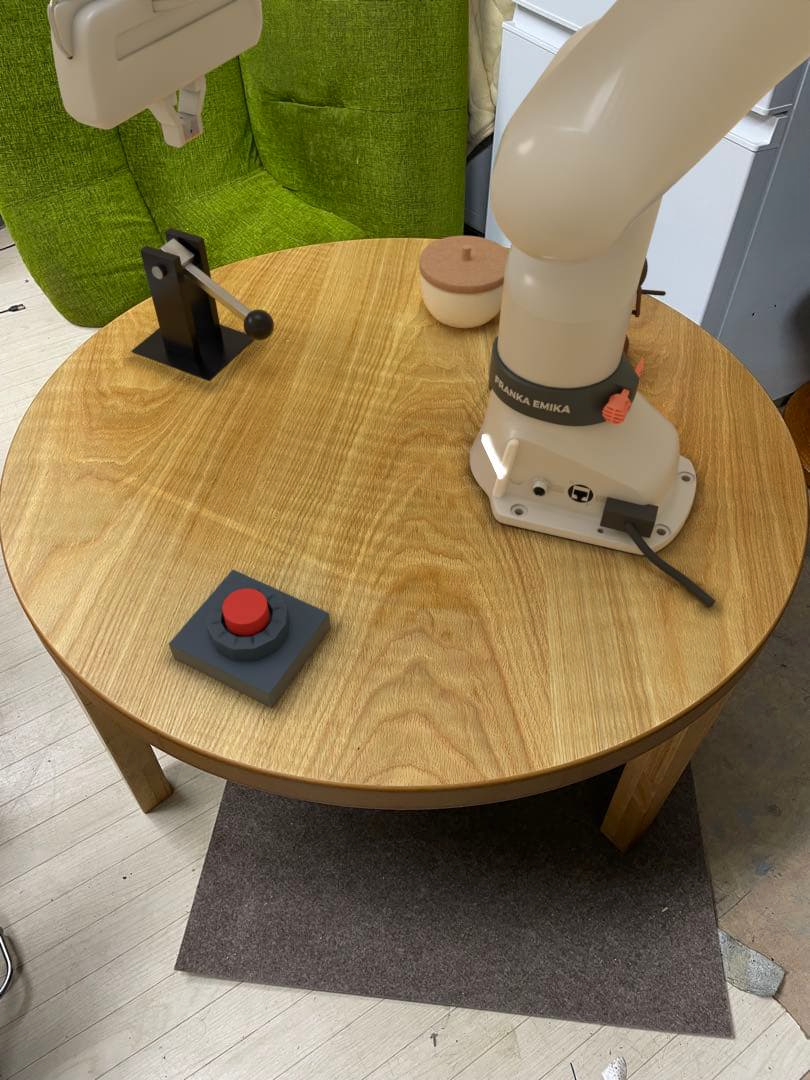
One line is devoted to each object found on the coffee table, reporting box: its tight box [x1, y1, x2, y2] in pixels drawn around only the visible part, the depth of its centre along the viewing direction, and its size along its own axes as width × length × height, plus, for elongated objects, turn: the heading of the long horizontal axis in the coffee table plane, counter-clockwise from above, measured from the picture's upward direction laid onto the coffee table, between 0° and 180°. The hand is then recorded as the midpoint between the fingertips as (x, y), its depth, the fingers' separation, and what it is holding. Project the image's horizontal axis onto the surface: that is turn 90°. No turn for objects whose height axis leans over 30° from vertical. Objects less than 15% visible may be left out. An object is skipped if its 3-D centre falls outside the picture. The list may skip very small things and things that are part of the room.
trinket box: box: [418, 235, 509, 329], centre depth 101 cm, size 11×11×9 cm
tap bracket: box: [130, 227, 255, 382], centre depth 95 cm, size 11×9×14 cm
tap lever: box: [159, 238, 275, 342], centre depth 91 cm, size 14×3×3 cm, turn 62°
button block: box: [168, 569, 331, 709], centre depth 72 cm, size 10×9×4 cm
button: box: [222, 589, 270, 636], centre depth 71 cm, size 4×4×2 cm
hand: (184, 139), depth 72 cm, fingers closed
